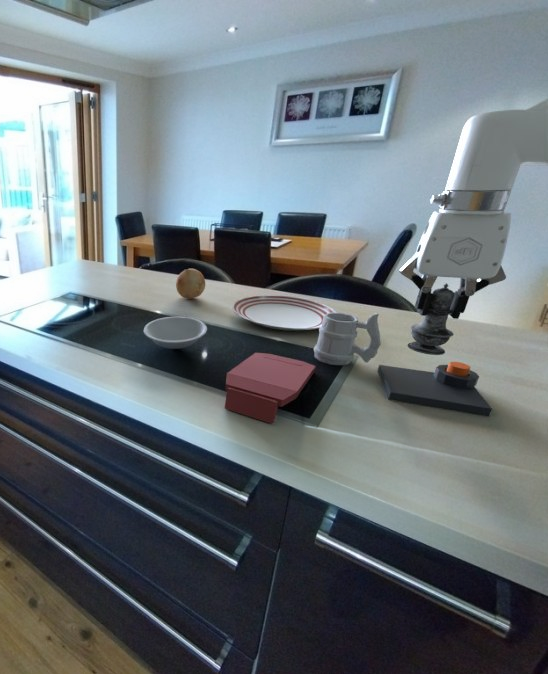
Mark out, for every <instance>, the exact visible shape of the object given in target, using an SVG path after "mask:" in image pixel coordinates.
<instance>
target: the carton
mask: <svg viewBox="0 0 548 674" xmlns="http://www.w3.org/2000/svg"><path fill="white" fill-rule="evenodd" d="M315 371H316V365H314V364H312V363H308V362H306V361H304V360H299V359H294V358H290V357H285V356H281V355H277V354H273V353H265V352H254V353H253V354H252V355H250V356H249V357H247V358H246V359H244V360H243V361H242V362H240V363H239V364H237V365H236V366H235V367H233V368H232V369H230V370H229V371H228V372H227V373H226V378H225V390H224V391H226V397H225V403H224V409H225V410H228V409H229V411H232V412H233V413H234V412H235V413H237V414H240V415H243V416H247V417H250V418H253V419H256V420H261V421H263V422H266V423H269V424H273V423H274V422H275V421H276V418H277V414H278V413H277V412H278V409H279V407H280V408H283V407H284V406H286V405H288V404H289V403H291V402H292V401H294V400H296V399H297V398H298V396H299V395H300V393H301V392H302V391H303V389H304V388H305V387H306V384H307V383H308V382H309V380H310V379H311V378H312V376H313V374H314V373H315ZM274 420H275V421H274Z"/></svg>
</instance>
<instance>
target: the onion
mask: <svg viewBox="0 0 548 674" xmlns="http://www.w3.org/2000/svg"><path fill="white" fill-rule="evenodd" d="M175 289H176V291H177V293H178V295H180V296H181V297H182V298H184V299H189V300H191V299H194V298H198V297H200V296H201V295H202V294H203V293H204V291H205V289H206V280H205V277H204V274H202V272H201V271H200V270H198V269H195V268H188V269H184V270H183V271H181V272H180V273H179V274H178V276H177V277H176V280H175Z"/></svg>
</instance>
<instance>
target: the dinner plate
mask: <svg viewBox="0 0 548 674" xmlns="http://www.w3.org/2000/svg"><path fill="white" fill-rule="evenodd" d="M231 309H232V311H233V312H234V314H235V315H237V316H238V317H240V318H242V319H244V320H246V321H248V322H250V323H253V324H255V325H257V326H260V327H264V328H267V329H271V330H278V331H285V332H297V331H298V332H300V331H309V330H310V331H311V330H317V329H318V330H319V328H320V326H321V325H322V322H323V318H324V315H326V314H327V313H333V312H334V313H338V312H337V311H336V310H335V309H334V308H332V307H331V306H328V305H326V304H324V303H322V302H319V301H315V300H313V299H309V298H303V297H298V296H292V295H283V294H281V295H280V294H258V295H257V294H256V295H250V296H246V297H241V298H239V299H237V300H235V301H234V302H233V303H232V304H231Z"/></svg>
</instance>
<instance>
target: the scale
mask: <svg viewBox="0 0 548 674" xmlns="http://www.w3.org/2000/svg"><path fill="white" fill-rule="evenodd" d="M448 365H449V364H439V365H438V366H436V367H435V370H434V371H427V370H420V369H412V368H406V367H398V366H392V365H391V366H390V365H385V364H378V367H377V371H376V372H377V373H376V374H377V375H378V377H379V381H380V383H381V385H382V388H383V391H384V393H385V395H386V398H387V400H388V401H394V402H400V403H404V404H411V405H417V406H422V407H428V408H435V409H440V410H446V411H452V412H458V413H463V414H470V415H476V416H481V417H487V418H489V417H490V416H491V413H492V411H493V407H492V406H491V405H490V404H489V403H488V402H487V400H486V399H485V397H484V396H482V394H481V393H480V392H479V391H478V390H477V388H476V386H477V384H478V381H479V379H480V376H479V374H478V373H477V372H475V371H474V370H471V369H470V370H469V373H468V376H457V375H454V374H450V373H448V372H446V370H447V368H448Z"/></svg>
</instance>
